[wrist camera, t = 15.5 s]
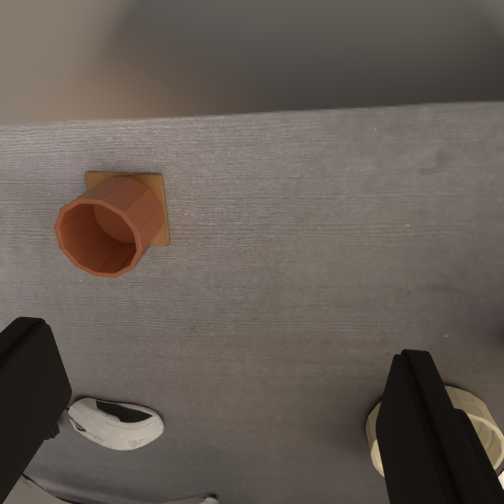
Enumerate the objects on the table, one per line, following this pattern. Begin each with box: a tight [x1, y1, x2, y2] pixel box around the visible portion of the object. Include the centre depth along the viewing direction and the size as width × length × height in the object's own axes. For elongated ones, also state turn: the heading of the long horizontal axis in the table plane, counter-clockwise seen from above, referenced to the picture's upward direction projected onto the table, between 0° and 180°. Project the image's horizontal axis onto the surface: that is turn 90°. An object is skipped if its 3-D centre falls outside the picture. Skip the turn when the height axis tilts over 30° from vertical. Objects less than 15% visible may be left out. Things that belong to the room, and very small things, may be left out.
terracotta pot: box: [54, 176, 164, 277], centre depth 31 cm, size 7×7×6 cm
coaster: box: [85, 171, 170, 246], centre depth 33 cm, size 7×7×1 cm
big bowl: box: [366, 385, 504, 476], centre depth 42 cm, size 14×14×4 cm
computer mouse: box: [45, 398, 164, 450], centre depth 47 cm, size 10×18×4 cm, turn 82°
